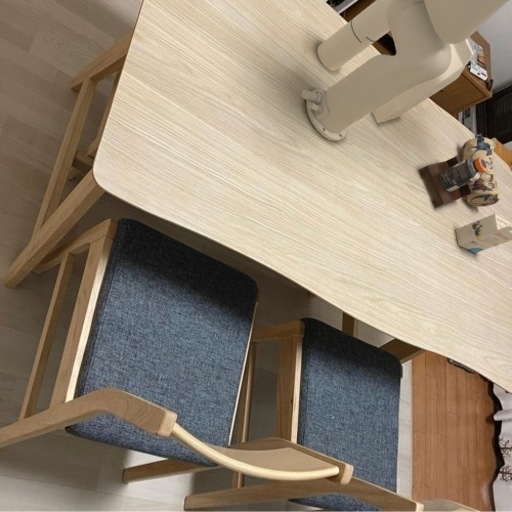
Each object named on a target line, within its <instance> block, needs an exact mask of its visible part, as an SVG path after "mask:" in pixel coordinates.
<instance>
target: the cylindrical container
mask: <svg viewBox="0 0 512 512" xmlns="http://www.w3.org/2000/svg"><path fill="white" fill-rule="evenodd" d="M392 1H393V0H374V1H373V2H372V3H371V4H370V5H368V6H367V7H365V9H363V10H362V11H360V13H357V15H356V16H355V17H353V18H352V19H351V20H349V21H348V22H347V23H346V24H344V25H343V26H342V27H341V28H339V29H338V30H337V31H336V32H334V33H333V34H332V35H330V36H329V37H328V38H327V39H326V40H324V41H323V42H322V43H320V44H319V45H318V46H317V50H316V51H317V56H318V58H319V61H320V62H321V63H322V66H324V67H325V68H326V69H328V70H329V71H331V72H335V71H337V70H338V69H340V68H341V67H342V66H344V65H345V64H347V63H348V62H349V61H351V60H352V59H353V58H355V57H356V56H358V55H359V54H360V53H362V52H363V51H364V50H366V49H367V48H369V47H370V46H372V44H374V43H375V42H377V41H379V40H380V38H382V37H383V36H385V35H386V34H388V33H389V32H391V31H390V28H389V25H388V21H387V11H388V8H389V6H390V4H391V3H392Z"/></svg>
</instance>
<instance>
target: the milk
mask: <svg viewBox="0 0 512 512" xmlns="http://www.w3.org/2000/svg"><path fill="white" fill-rule="evenodd" d="M450 47H451V53H452V59H451V63H450V66H449V68H448V69H447V70H446V71H445V72H444V73H443V74H442V75H440V76H438V77H436V78H434V79H431V80H429V81H426V82H424V83H422V84H419V85H417V86H415V87H413V88H411V89H409V90H407V91H405V92H403V93H402V94H400V95H398V96H397V97H395V98H393V99H392V100H390V101H389V102H387V103H386V104H384V105H382V106H381V107H379V108H378V109H376V110H374V111H373V112H371V114H372V115H373V117H374V119H375V121H376V123H377V124H382V123H384V122H387V121H391V120H394V119H397V118H400V117H401V116H403V115H405V114H406V113H407V112H409V111H410V110H412V109H414V108H415V107H417V106H418V105H420V104H421V103H423V102H424V101H426V100H427V99H429V98H431V97H432V96H433V95H435V94H437V93H438V92H439V91H441V90H443V89H444V88H446V87H447V86H449V85H450V84H453V82H455V81H456V80H457V79H458V78H459V77H460V76H461V74H462V73H463V71H464V69H465V68H466V66H467V65H468V64H469V62H470V60H471V59H472V58H473V57H474V55H475V53H474V51H473V49H472V47H471V44H470V41H468V38H467V39H465V40H464V41H462V42H460V43H456V44H450Z"/></svg>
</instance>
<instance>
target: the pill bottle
mask: <svg viewBox="0 0 512 512" xmlns="http://www.w3.org/2000/svg"><path fill="white" fill-rule="evenodd" d="M487 170H488V166H487V163H486V161H485V160H484V159H483V158H482V157H479V158H477V159H473V158H469V159H466V160H464V161H463V160H462V161H460V163H458V164H456V165H454V166H452V167H450V168H448V169H446V170H444V171H442V172H441V173H440V181H441V184H442V186H443V187H444V188H445V189H446V190H447V191H449V192H451V191H453V190H455V189H458V188H460V187H462V186H464V185H467V184H469V183H471V182H473V181H476V180H478V179H479V178H480V177H481V174H482V173H484V172H486V171H487Z"/></svg>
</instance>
